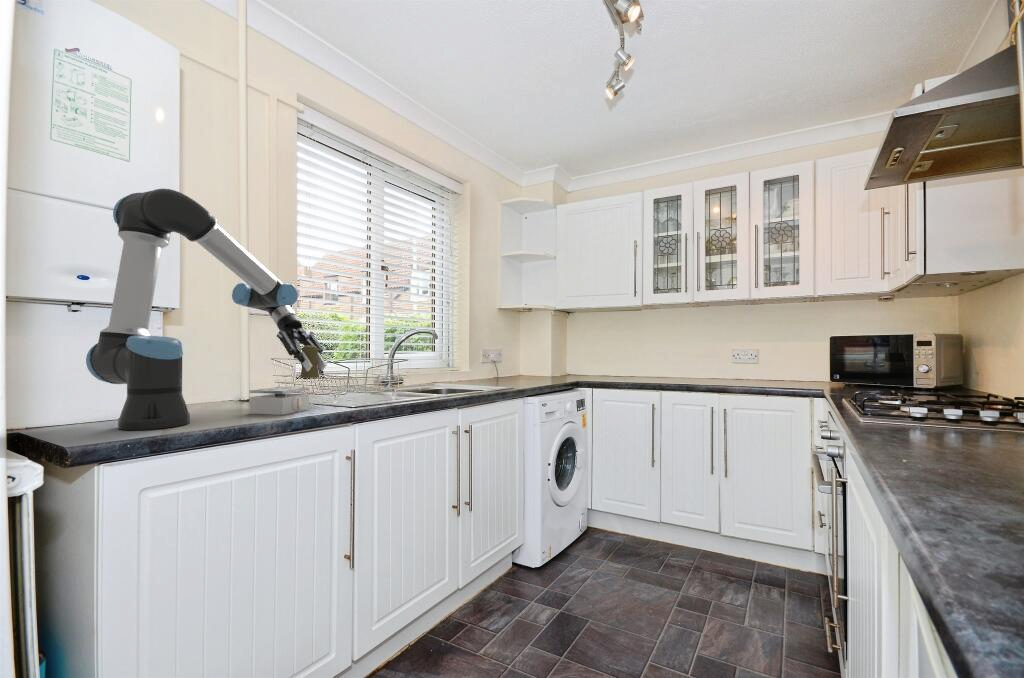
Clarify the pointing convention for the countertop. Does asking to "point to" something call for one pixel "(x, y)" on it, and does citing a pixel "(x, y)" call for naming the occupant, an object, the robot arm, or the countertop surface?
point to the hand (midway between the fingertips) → (317, 368)
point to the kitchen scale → (278, 403)
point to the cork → (311, 355)
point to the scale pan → (279, 390)
